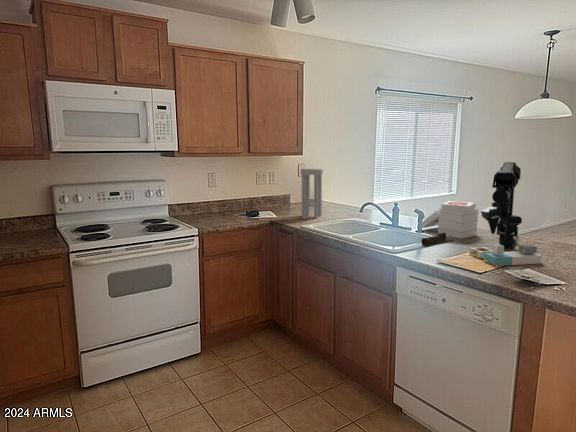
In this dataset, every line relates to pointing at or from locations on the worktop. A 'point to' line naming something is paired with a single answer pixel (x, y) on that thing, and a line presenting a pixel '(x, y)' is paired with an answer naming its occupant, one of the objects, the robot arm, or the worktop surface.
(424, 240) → the hand tool
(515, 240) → the white blue elongated body
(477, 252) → the frame
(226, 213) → the worktop surface
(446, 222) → the pizza boxes
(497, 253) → the pin
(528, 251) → the gray rectangular block
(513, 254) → the dock
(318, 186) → the stool
